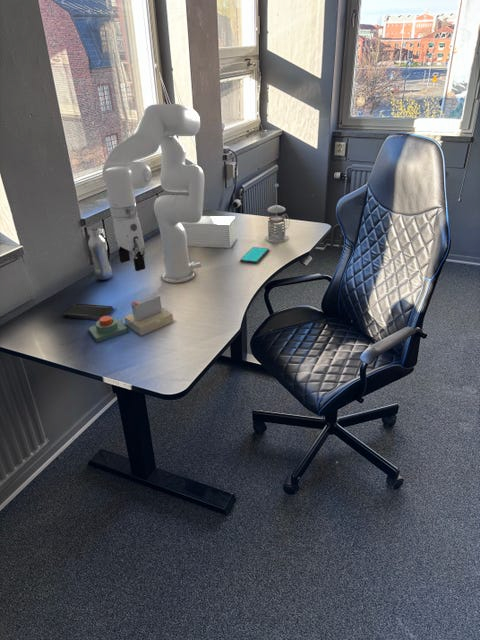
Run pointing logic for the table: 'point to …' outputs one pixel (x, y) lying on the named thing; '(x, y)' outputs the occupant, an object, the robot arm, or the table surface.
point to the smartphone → (254, 255)
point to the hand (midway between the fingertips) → (132, 265)
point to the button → (105, 320)
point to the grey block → (146, 307)
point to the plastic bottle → (99, 255)
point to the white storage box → (211, 232)
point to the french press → (276, 219)
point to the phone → (88, 311)
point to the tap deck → (149, 322)
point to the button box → (107, 330)
